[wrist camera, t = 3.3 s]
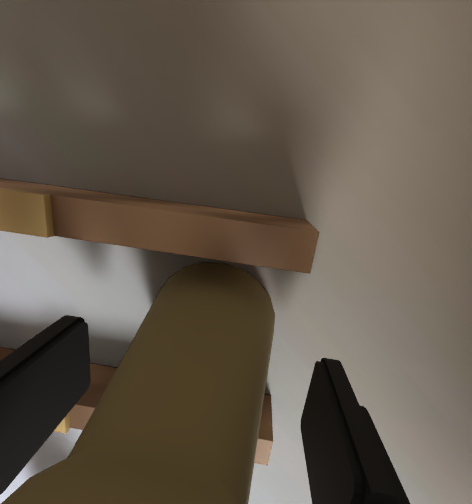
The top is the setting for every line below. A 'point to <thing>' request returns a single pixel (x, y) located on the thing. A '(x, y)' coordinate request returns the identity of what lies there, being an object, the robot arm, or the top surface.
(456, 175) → the top surface
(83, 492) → the pepper shaker
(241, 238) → the wooden u-shaped frame
